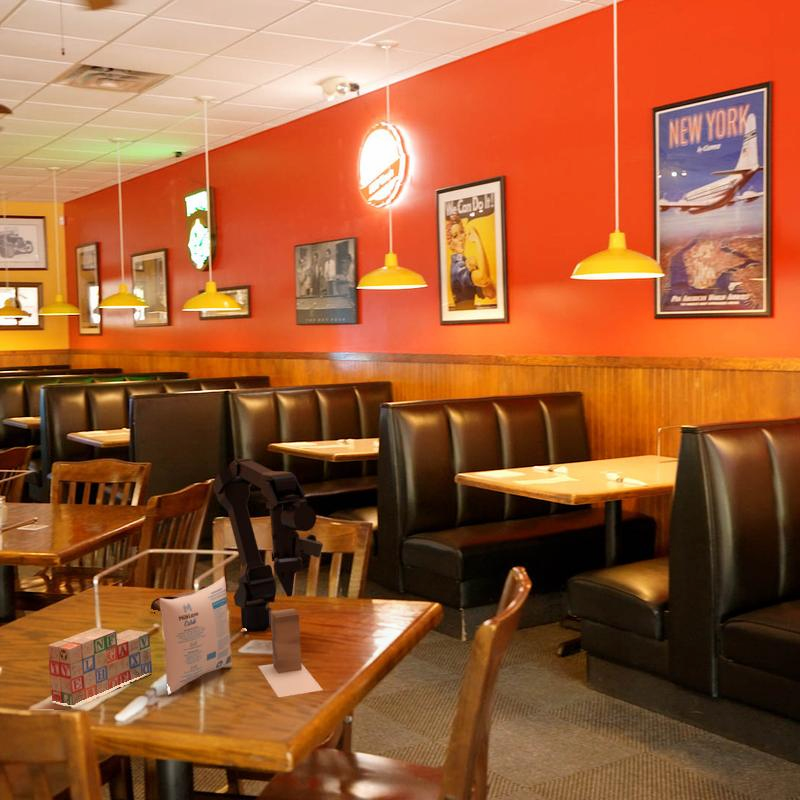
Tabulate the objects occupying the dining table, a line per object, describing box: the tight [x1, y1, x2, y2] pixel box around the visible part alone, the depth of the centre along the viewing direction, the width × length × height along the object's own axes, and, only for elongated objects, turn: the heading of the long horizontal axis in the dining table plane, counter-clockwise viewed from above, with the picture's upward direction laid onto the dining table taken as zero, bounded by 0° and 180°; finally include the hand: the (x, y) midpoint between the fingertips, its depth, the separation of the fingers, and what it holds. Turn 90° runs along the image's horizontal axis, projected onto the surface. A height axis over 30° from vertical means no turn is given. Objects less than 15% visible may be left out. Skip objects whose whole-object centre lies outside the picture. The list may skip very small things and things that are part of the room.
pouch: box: [159, 576, 233, 693], centre depth 208 cm, size 8×19×20 cm, turn 144°
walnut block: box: [270, 608, 302, 674], centre depth 213 cm, size 5×5×12 cm
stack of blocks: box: [47, 627, 153, 705], centre depth 206 cm, size 21×6×12 cm, turn 148°
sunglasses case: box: [150, 586, 207, 611], centre depth 266 cm, size 18×7×7 cm
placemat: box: [257, 662, 323, 698], centre depth 207 cm, size 20×9×1 cm, turn 20°
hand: (289, 596), depth 229 cm, fingers closed
